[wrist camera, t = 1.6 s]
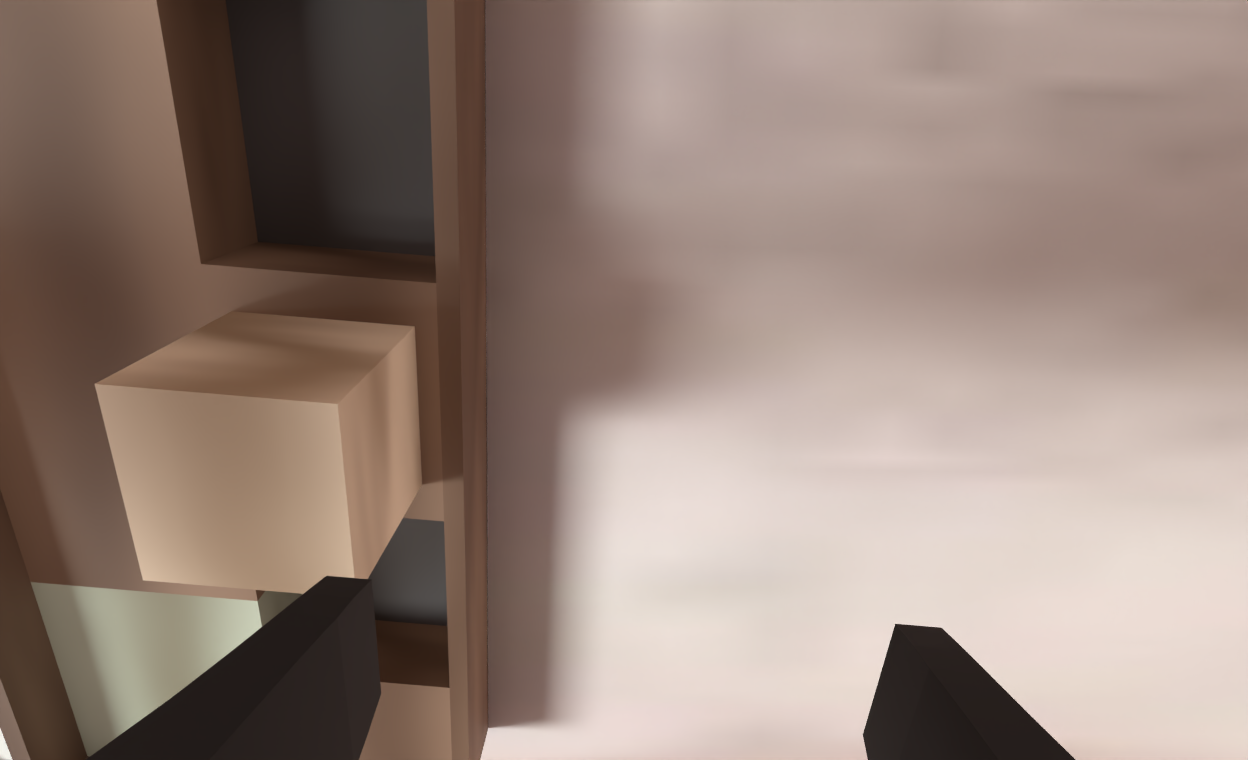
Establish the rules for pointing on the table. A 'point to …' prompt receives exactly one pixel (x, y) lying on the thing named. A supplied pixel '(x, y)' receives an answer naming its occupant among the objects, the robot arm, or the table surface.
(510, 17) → the table surface
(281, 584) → the maple block
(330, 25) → the trap box
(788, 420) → the table surface
